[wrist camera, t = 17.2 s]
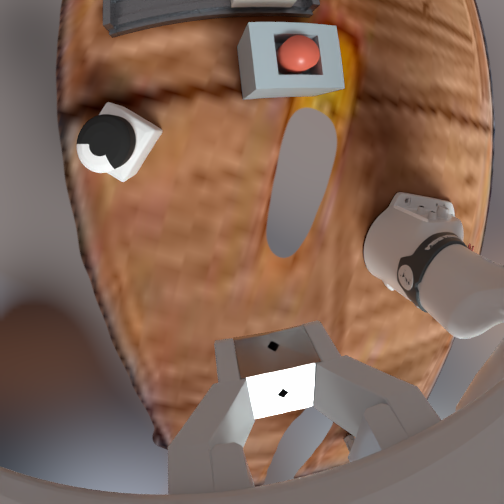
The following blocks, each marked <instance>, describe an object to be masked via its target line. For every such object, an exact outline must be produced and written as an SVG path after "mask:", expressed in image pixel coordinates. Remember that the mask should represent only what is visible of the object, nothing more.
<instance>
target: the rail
mask: <svg viewBox="0 0 504 504" xmlns="http://www.w3.org/2000/svg"><path fill="white" fill-rule="evenodd" d="M319 5H320V2H319V0H297V1H296V2H295V3H294V4H293V5H292V7H233V8H231V0H103V26H104V27H105V28H106V29H107V30H108V31H109V35H110V36H111V37H112V38H113V37H117V36H120V35H124V34H128V33H132V32H136V31H140V30H144V29H149V28H154V27H159V26H164V25H169V24H175V23H181V22H188V21H196V20H204V19H214V18H226V17H244V16H288V17H306V18H309V17H311V16H312V15H313V13H312V12H313V11H314V10H315V9H316V8H317V7H318V6H319Z"/></svg>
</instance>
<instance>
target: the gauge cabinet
mask: <svg viewBox="0 0 504 504" xmlns="http://www.w3.org/2000/svg"><path fill="white" fill-rule="evenodd" d="M296 35H302V36H306V37H308V38H310V39H311V40H313V41H314V42H315V43H316V45H317V46H318V48H319V52H320V57H319V60H318V62H317V64H316V65H314V66H313V67H311V68H309V69H307V70H305V71H303V72H301V73H300V74H298V75H284V74H282V73H281V72H279V71H278V66H277V58H276V50H277V49H278V48H279V47H280V46H281V45H282V44H283V43H284V42H285V41H286V40H287V39H288V38H290V37H292V36H296ZM237 51H238V60H239V69H240V77H241V86H242V95H243V100H244V99H257V98H273V97H301V96H316V95H320V94H324V93H328V92H332V91H337V90H341V89H345V86H344V77H343V68H342V60H341V53H340V46H339V39H338V33H337V27H336V26H332V25H323V24H311V23H295V22H248V24H247V26H246V28H245V30H244V32H243V35H242V37H241V39H240V41H239V43H238V46H237Z"/></svg>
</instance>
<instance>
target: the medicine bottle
mask: <svg viewBox="0 0 504 504" xmlns="http://www.w3.org/2000/svg"><path fill="white" fill-rule="evenodd" d="M162 132H163V131H162V129H160V128H159V127H157V126H156V125H154V124H152V123H151V122H149V121H147V120H146V119H144V118H142V117H141V116H139V115H137V114H136V113H134V112H132V111H131V110H129V109H127V108H125V107H124V106H120V105H117V104H113V103H110V102H108V103H106V104H105V106H104V107H103V109H102V111H101V112H100V114H99V115H98V116H95V117H93V118H92V119H90V120H89V121H88V122H87V123H86V124H85V125H84V126H83V127H82V129H81V131H80V133H79V135H78V139H77V153H78V156H79V159H80V161H81V162H82V164H83V165H84V166H85V167H86V168H88V169H89V170H91V171H93V172H97V173H105V172H107V173H108V174H110V175H112V176H113V177H115V178H117V179H118V180H120V181H121V182H125V181H126V180H128V179H129V178H130V177H132V176H133V175H135V174H136V173H137V172H138V170H139V169H140V167H141V165H142V164H143V162H144V160H145V159H146V157H147V155H148V154H149V152H150V151H151V149H152V148H153V146H154V144H155V143H156V141H157V140H158V138H159V137H160V135H161V134H162Z"/></svg>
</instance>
